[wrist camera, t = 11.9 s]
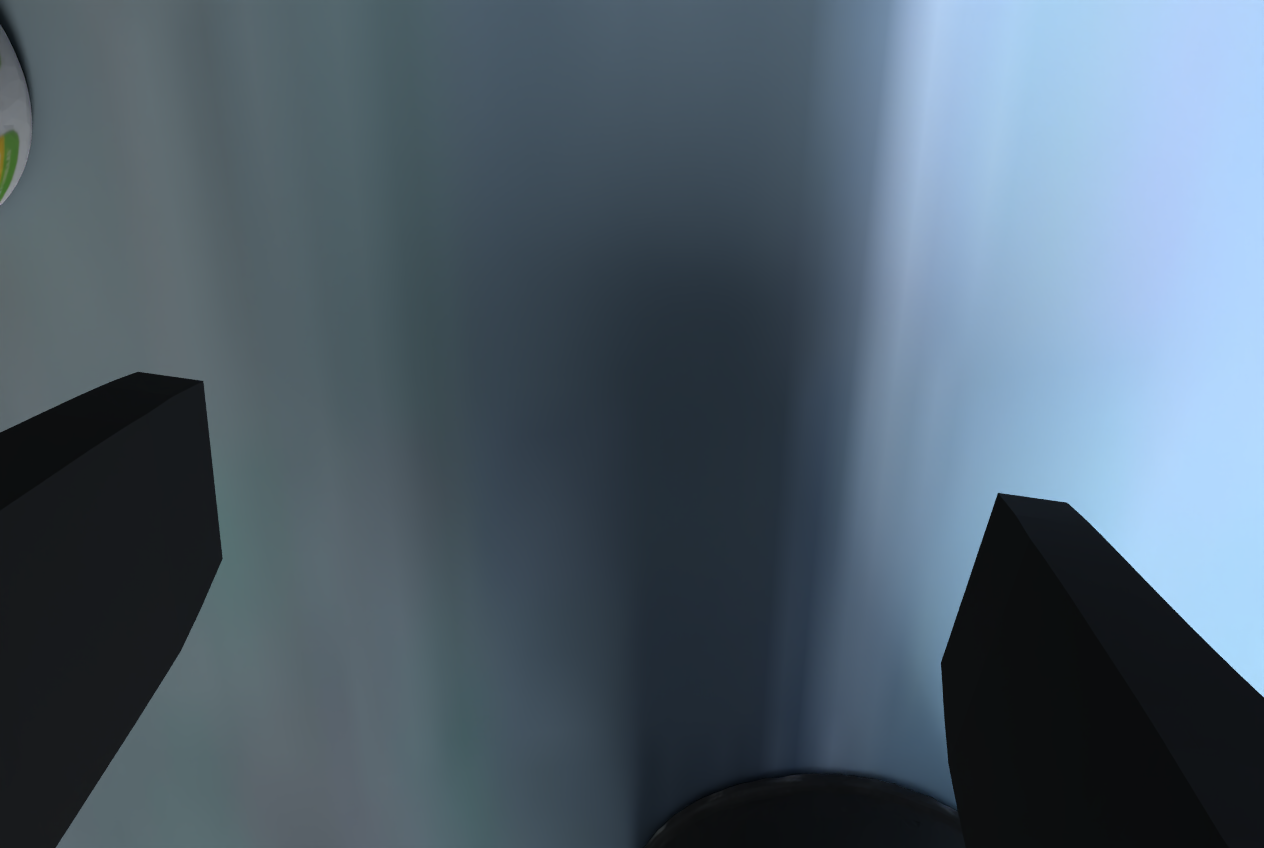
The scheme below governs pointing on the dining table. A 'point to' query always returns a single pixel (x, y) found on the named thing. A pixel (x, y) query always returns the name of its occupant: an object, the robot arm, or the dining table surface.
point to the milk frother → (813, 816)
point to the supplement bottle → (12, 118)
